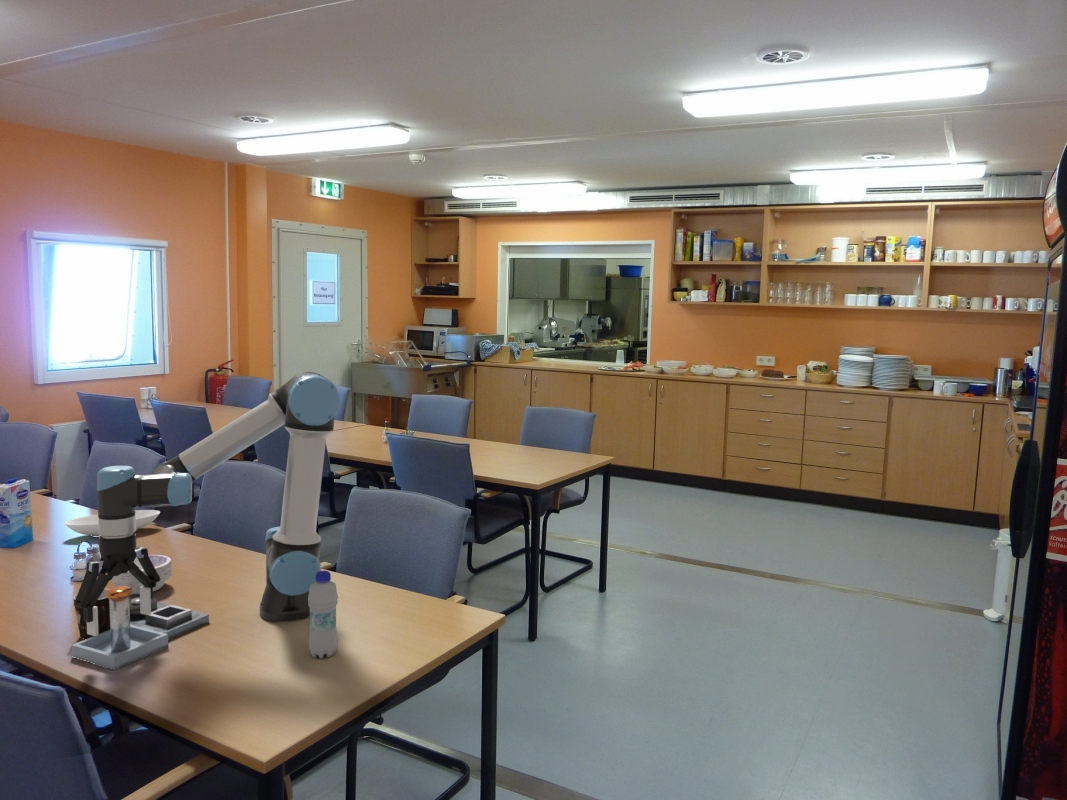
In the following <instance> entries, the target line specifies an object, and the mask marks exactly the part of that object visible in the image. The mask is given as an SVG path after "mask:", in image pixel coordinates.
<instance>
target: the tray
mask: <svg viewBox="0 0 1067 800" xmlns="http://www.w3.org/2000/svg"><path fill="white" fill-rule="evenodd" d="M130 643H131V648H130V649H127V650H125V651H123V652H120V653H113V652H111V634H110V630H108V631H106V632H103V633H101V634H98V635H97V636H93V637H91V638H88V639H86V640H84V639H82V640H81V641H79V642H75V643H73V644H71V645H70V646H71V657H72V656H73V657H76V658H79V659H82V660H86V661H89V662H92V663H95V664H98V665H101V666H100V667H102V666H104V667H103V668H105V667H107V668H106V669H108V668H110V669H109V670H112V669H113V670H112V671H117V670H119V669H121V668H123V667H127V665H130V664H132V663H134V662H136V661H139V660H141V659H143V658H145V657H147V656H149V655H153V654H154V653H157V652H159V651H161V650H163V649H165V648H167V647H169V640H168V634H165V633H162V632H158V631H154V630H150V629H146V628H142V627H138V626H134V625H131V624H130ZM95 664H94V665H95ZM98 665H97V666H98ZM118 668H119V669H118ZM116 669H117V670H116Z"/></svg>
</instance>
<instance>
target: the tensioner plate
mask: <svg viewBox="0 0 1067 800" xmlns="http://www.w3.org/2000/svg"><path fill="white" fill-rule="evenodd" d="M129 608H130V624H131V625H134V626H138V627H142V628H146V629H150V630H154V631H158V632H162V633H165V634H168V641H169V640H171V639H173V638H176V637H179V636H180V635H183V634H185V633H188V632H190V631H191V630H194V629H196V628H199V627H201V626H203V625H206V624H208V623H210V614H209V613H204V612H200V611H196V610H192V609H190V608H185V607H182V606H178V605H174V604H166V603H163V602H158V599H157V598H156V597H153V598H152V599H151V615H145V614H141V613H140V596H138V597H137V596H136V597H132V598H129Z"/></svg>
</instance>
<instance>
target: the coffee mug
mask: <svg viewBox="0 0 1067 800" xmlns="http://www.w3.org/2000/svg"><path fill="white" fill-rule="evenodd" d="M108 589H109V588H105V589H104V590H103V592H102V594H101V595H100V597H99V599H98V600H97V602H96V604H95V605H94V606H96V607H98V634H101V633H103V632H106V631H108V630H110V602H109V599H108V598H107V597H106V591H107V590H108ZM77 594H78V593H77ZM77 594H75V595H73V597H72V599H73V603H74V602H75V599H76V597H77ZM74 609H75V615H76V616H75V617H76V620H77V627H78V632H79V637H81V638H84V639H88V638H91V637H93V635H89V634H87V622H85V621H84V615H83V608H79V607H76V606H74ZM81 638H80V639H81ZM84 639H83V640H84Z"/></svg>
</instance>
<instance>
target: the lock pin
mask: <svg viewBox="0 0 1067 800" xmlns="http://www.w3.org/2000/svg"><path fill="white" fill-rule="evenodd" d="M107 589H108V590H107V591H106V597H107V598H108V599H109V602H110V634H111V652H113V653H120V652H123V651H125V650H127V649H130V648H131V643H130V608H129V599H130V597H131V595H133V594H132V588H131V587H129V586H119V587H118V586H115V587H110V588H107Z"/></svg>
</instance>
